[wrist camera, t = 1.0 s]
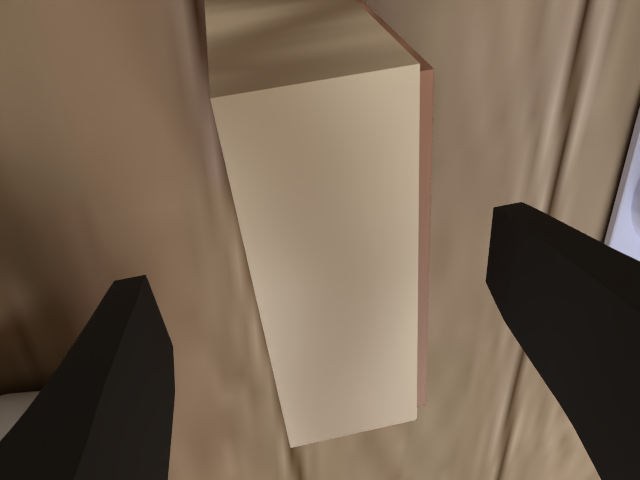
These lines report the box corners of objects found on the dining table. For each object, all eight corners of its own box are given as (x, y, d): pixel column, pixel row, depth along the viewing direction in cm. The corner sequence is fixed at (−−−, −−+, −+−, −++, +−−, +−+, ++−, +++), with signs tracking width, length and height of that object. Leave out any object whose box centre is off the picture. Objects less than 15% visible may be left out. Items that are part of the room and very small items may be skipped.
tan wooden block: (333, -35, 15) (439, 60, 8) (354, 235, 20) (428, 417, 14) (203, -15, 14) (210, 98, 8) (260, 253, 20) (290, 448, 13)
